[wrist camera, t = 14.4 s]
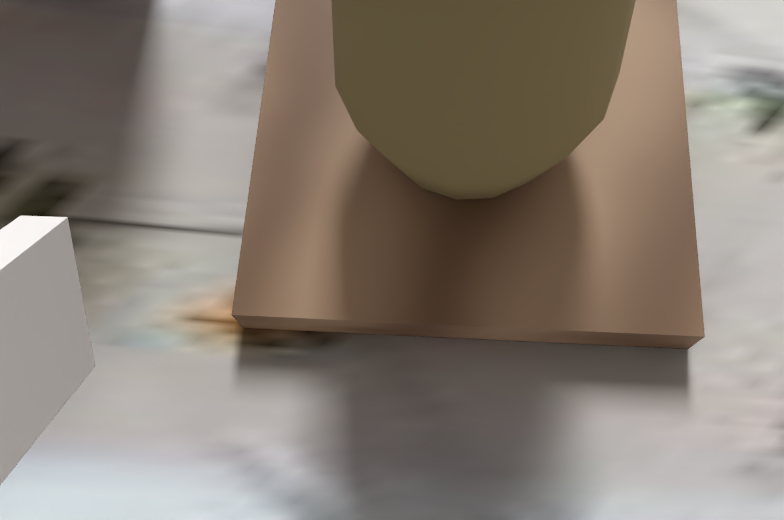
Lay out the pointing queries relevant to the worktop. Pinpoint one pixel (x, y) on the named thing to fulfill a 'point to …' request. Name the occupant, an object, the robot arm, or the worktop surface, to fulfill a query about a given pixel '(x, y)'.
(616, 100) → the walnut board
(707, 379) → the worktop surface
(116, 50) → the worktop surface
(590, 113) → the squeeze bottle
